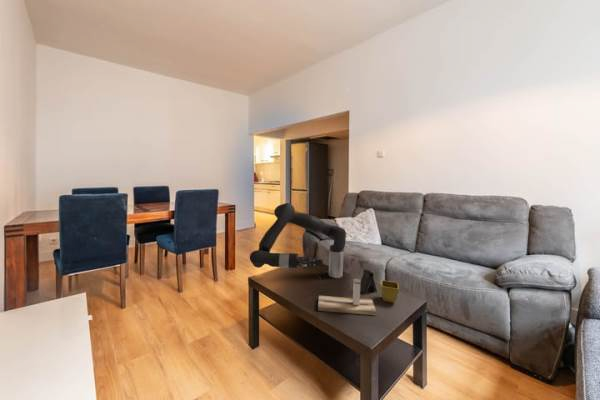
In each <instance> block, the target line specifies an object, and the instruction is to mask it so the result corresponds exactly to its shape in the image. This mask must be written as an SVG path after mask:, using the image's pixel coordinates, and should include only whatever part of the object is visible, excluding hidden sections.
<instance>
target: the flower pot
mask: <svg viewBox="0 0 600 400" xmlns="http://www.w3.org/2000/svg"><path fill="white" fill-rule="evenodd" d="M380 287H381V289H380V291H381V297H382V300H383V302H387V303H393V304H394V303H395V302H396V300H397V299H398V295H399V290H400V288H399V282H395V281H390V280H389V281H388V280H381V286H380Z"/></svg>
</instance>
